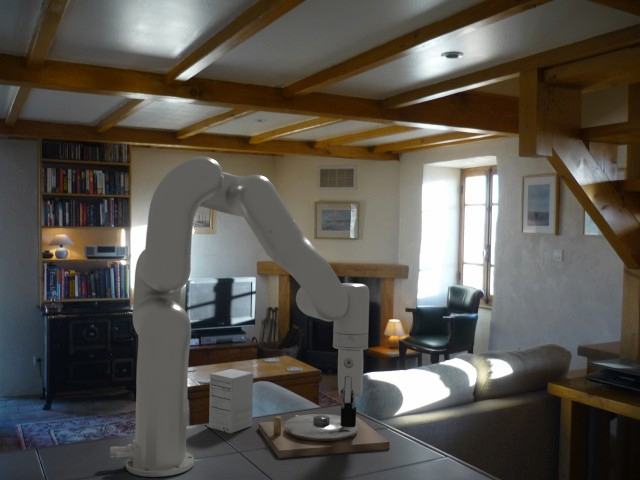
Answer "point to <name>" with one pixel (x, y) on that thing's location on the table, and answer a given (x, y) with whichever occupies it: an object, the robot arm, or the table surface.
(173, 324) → the robot arm
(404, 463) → the table surface
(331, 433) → the flange plate
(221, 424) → the supplement box
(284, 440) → the base board
